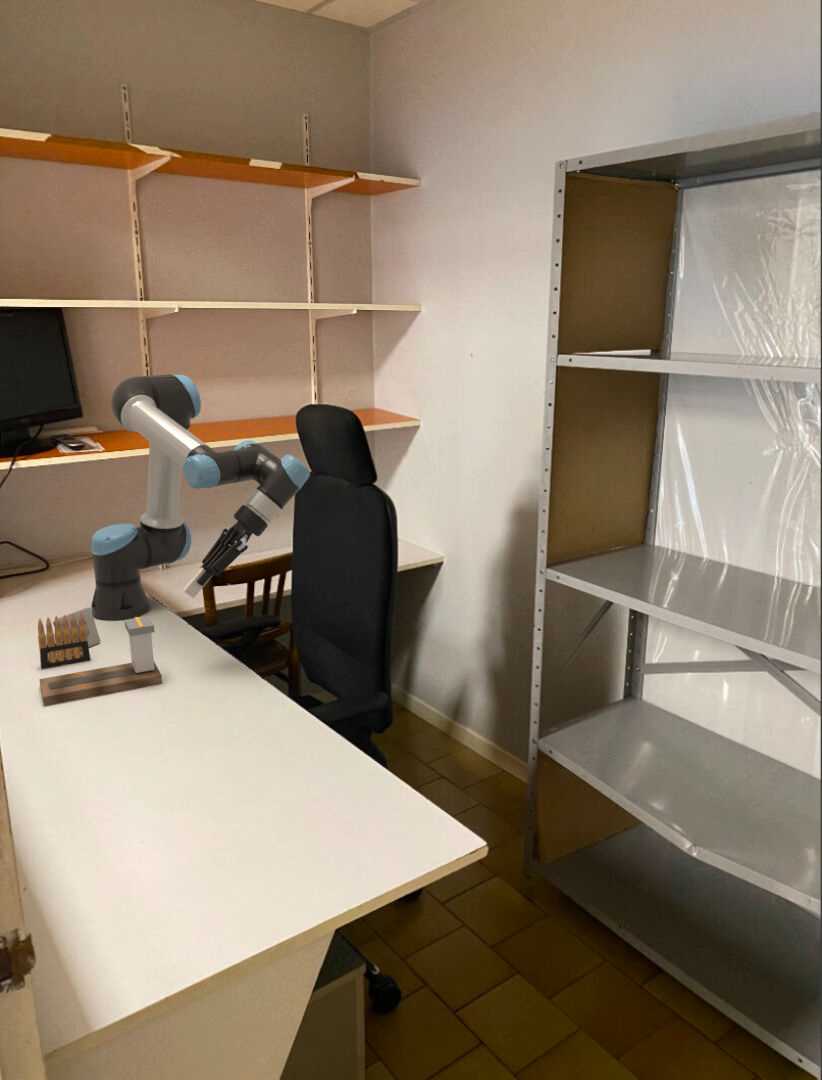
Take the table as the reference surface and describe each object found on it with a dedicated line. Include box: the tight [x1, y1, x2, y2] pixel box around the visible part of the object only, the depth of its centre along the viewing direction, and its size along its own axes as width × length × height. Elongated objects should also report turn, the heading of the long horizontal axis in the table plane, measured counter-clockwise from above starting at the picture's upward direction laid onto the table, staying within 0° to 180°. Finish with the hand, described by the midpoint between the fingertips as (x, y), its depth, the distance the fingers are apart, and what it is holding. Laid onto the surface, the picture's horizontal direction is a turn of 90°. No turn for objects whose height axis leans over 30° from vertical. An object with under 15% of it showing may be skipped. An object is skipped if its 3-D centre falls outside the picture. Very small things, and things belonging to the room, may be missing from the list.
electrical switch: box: [52, 607, 101, 653], centre depth 201 cm, size 9×5×9 cm, turn 152°
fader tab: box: [123, 616, 155, 673], centre depth 183 cm, size 5×6×11 cm
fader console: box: [39, 661, 163, 707], centre depth 180 cm, size 24×10×2 cm, turn 117°
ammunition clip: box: [37, 612, 92, 670], centre depth 191 cm, size 11×2×12 cm, turn 119°
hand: (188, 593), depth 185 cm, fingers closed
